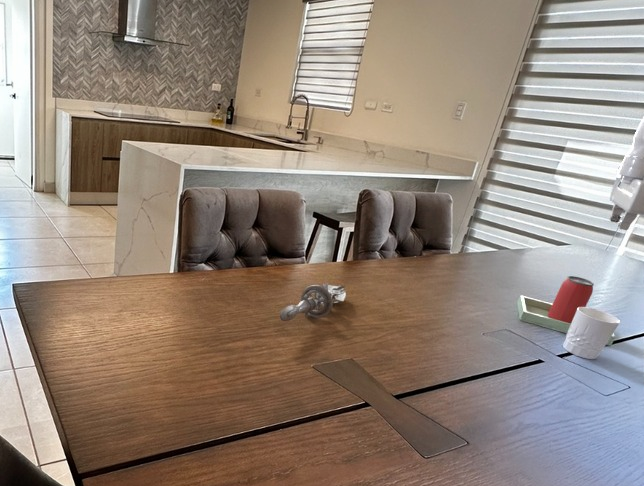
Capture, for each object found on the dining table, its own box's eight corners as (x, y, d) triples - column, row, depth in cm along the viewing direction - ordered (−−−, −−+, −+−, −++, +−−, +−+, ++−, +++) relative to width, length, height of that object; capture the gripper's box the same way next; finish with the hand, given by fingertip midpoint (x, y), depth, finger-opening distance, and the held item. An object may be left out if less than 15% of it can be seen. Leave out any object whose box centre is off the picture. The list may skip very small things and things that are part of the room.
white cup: (596, 350, 113) (616, 314, 109) (603, 365, 107) (623, 326, 103) (557, 339, 116) (575, 303, 112) (561, 352, 110) (580, 315, 106)
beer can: (553, 323, 124) (572, 282, 119) (542, 313, 130) (560, 273, 125) (581, 329, 122) (602, 287, 118) (568, 318, 128) (588, 278, 124)
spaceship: (262, 298, 100) (296, 297, 95) (327, 275, 127) (356, 274, 122) (266, 335, 100) (300, 336, 95) (330, 304, 127) (359, 304, 122)
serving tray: (600, 325, 128) (604, 317, 126) (610, 346, 116) (615, 337, 115) (517, 303, 136) (520, 295, 135) (519, 320, 125) (523, 311, 124)
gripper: (674, 178, 105) (645, 237, 110) (647, 169, 121) (623, 220, 127) (638, 173, 107) (611, 230, 113) (617, 164, 124) (594, 215, 129)
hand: (617, 225), depth 120 cm, fingers open, 8 cm apart
